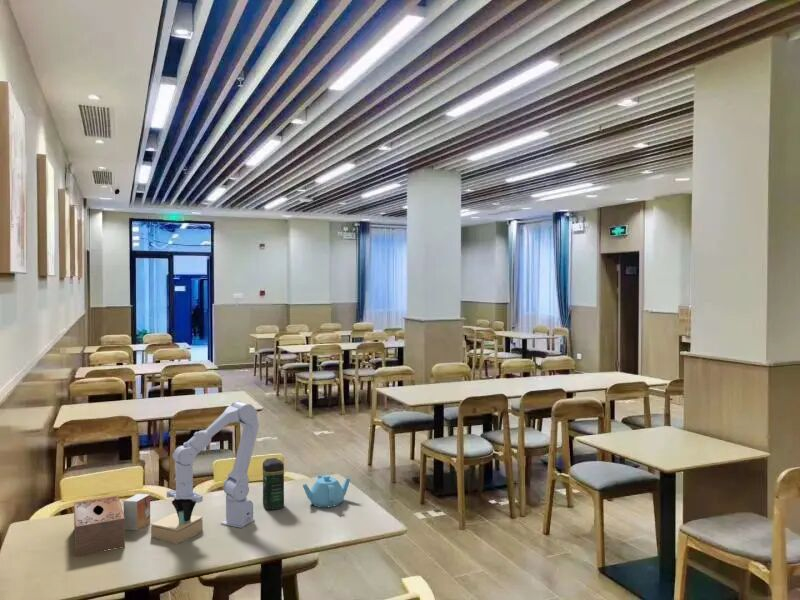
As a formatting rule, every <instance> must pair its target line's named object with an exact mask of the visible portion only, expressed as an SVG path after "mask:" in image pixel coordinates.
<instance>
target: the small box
mask: <svg viewBox="0 0 800 600" xmlns="http://www.w3.org/2000/svg"><path fill="white" fill-rule="evenodd" d="M123 514H124V518H125V531H126V530H128V531H138V530H141V529H142V528H143V527H145V526H147V525H148V524H151V494H148V493H136V494H134V495H132V496H131V497H129V498H127V499H124V500H123Z"/></svg>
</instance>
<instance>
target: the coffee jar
mask: <svg viewBox="0 0 800 600" xmlns="http://www.w3.org/2000/svg"><path fill="white" fill-rule="evenodd" d="M262 505H263V508H265V509H266V510H273V509H276V510H279V509H282V508H284V506H285V464H284V462H283V461H282V460H281V459H278V458H277V457H269V458H266V459H265V460H264V461H263V462H262Z"/></svg>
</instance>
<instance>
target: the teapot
mask: <svg viewBox="0 0 800 600" xmlns="http://www.w3.org/2000/svg"><path fill="white" fill-rule="evenodd" d="M350 481H351V478H350V477H348V478H347V477H346V478H345V480H344V481H343V483H342V485H341V483H340V482H339V480H338V479H337V478H335V477H331V476H330V475H328V474H326V475H322V474H318V475H317V479H316V481H314V483H313V485H312V487H311V489H310V488H309V486H308V484H307V483H304V484H302V487H303V489H304V492H305V494H306V497H307V499H308V500H309V502H311V504H312V505H313V504H314V505H313V506H315V505H316V506H315V507H317V506H320V507H319V508H329V507H328V506H333V507H335V506H334V505H337V504H339V505H340V504H341V503H342V502H343V501H344V499H345V496H346V493H347V491H348V488H349V484H350V483H351V482H350ZM337 506H338V505H337Z"/></svg>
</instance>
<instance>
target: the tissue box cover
mask: <svg viewBox="0 0 800 600" xmlns="http://www.w3.org/2000/svg"><path fill="white" fill-rule="evenodd" d="M119 497H120V496H119V495H114V496H113V495H112V496H106V497H100V498H94V499H93V498H92V499H89V500H87V499H86V500H80V501H75V502H73V517H74V518H73V519H74V520H73V522H74V524H73V525H74V527H73V528H74V530H75V531H74V546H75V549H74V550H75V557H77V556H78V557H82V555H83V556H88V555H92V553H93V554H97V552H98V553H102V552H101V551H103V552H105V551H104V550H108V549H113V550H115V549H114V548H118V549H121V548H120V547H123V548H126V533H125V532H126V530H125V518H124V510H123V507H122V504H121V501H120V498H119ZM108 551H109V550H108ZM87 554H88V555H87ZM78 557H77V558H78Z"/></svg>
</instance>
